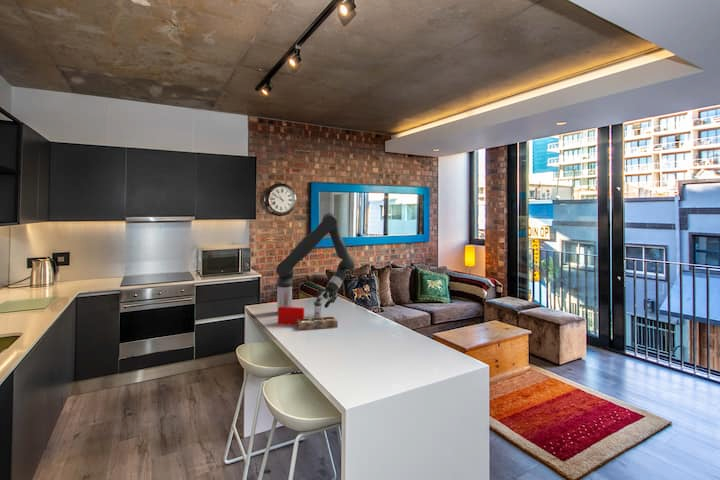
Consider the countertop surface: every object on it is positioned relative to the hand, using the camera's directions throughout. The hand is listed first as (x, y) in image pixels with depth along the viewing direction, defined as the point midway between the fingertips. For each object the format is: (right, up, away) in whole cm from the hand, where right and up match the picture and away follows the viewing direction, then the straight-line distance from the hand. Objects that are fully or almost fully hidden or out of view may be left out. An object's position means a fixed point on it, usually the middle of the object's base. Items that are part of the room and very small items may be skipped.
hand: (320, 305), depth 229 cm
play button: (-16, -9, -11) cm, 21 cm away
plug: (-2, -8, -1) cm, 8 cm away
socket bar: (-1, -9, -14) cm, 17 cm away
